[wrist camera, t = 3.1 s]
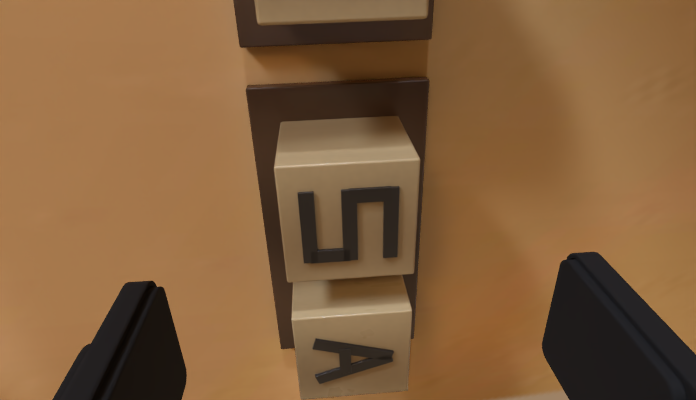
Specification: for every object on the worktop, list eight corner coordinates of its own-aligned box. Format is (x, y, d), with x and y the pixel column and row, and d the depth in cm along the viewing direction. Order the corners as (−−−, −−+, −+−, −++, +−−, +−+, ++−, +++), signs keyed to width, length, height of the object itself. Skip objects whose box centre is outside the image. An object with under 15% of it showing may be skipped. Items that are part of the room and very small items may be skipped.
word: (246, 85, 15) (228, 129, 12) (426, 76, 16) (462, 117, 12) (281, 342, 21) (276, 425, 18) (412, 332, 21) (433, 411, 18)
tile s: (280, 121, 16) (273, 168, 12) (398, 114, 16) (421, 160, 13) (290, 221, 18) (286, 286, 14) (395, 215, 18) (415, 277, 15)
